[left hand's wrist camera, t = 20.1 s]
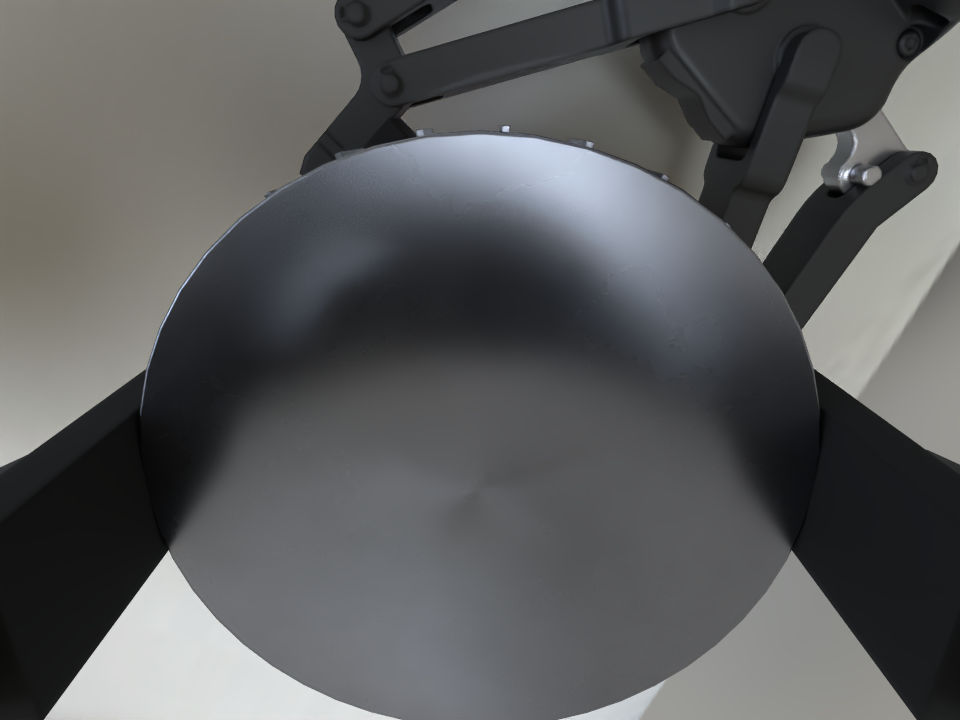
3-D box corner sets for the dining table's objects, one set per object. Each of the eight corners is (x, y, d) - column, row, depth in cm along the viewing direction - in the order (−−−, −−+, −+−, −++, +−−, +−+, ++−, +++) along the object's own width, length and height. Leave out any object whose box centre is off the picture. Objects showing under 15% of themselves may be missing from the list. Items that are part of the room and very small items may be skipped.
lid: (782, 580, 14) (843, 670, 11) (316, 674, 15) (286, 774, 12) (726, 44, 10) (799, 19, 7) (97, 223, 11) (-5, 250, 8)
